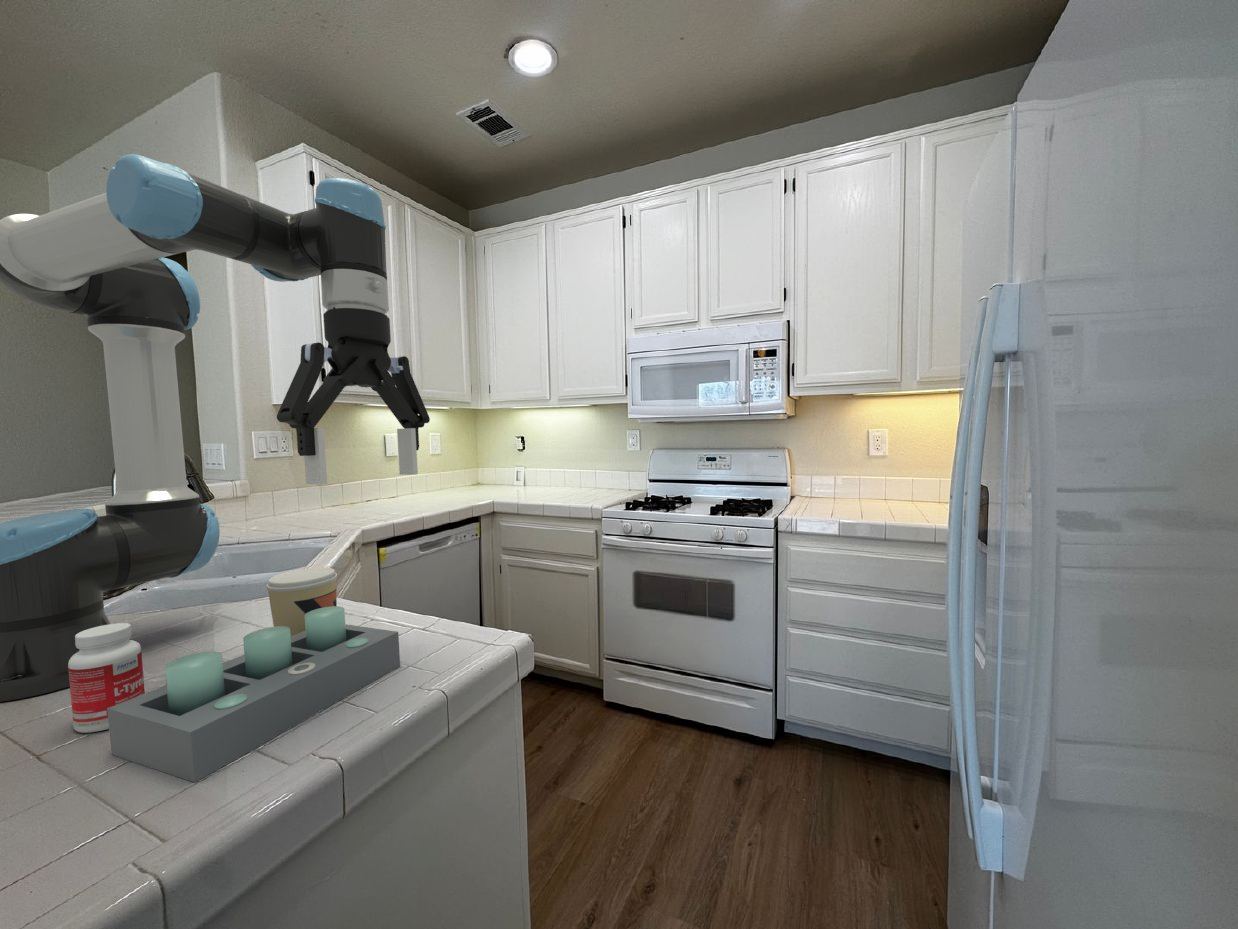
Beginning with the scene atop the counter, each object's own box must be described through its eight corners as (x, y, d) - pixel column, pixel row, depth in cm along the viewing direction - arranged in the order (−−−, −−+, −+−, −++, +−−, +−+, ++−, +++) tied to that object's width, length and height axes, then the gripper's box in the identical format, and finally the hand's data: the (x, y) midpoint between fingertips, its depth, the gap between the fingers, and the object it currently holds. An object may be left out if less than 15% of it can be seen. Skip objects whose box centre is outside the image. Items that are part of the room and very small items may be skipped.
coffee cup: (309, 665, 74) (303, 584, 74) (256, 661, 76) (250, 582, 76) (355, 639, 83) (350, 567, 83) (307, 636, 85) (301, 566, 85)
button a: (158, 712, 55) (154, 667, 55) (207, 691, 59) (204, 649, 59) (186, 720, 53) (182, 673, 53) (235, 697, 58) (231, 654, 57)
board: (111, 754, 54) (107, 706, 54) (329, 653, 78) (327, 620, 78) (194, 782, 49) (190, 730, 49) (400, 665, 73) (398, 630, 73)
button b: (236, 678, 62) (233, 638, 62) (275, 662, 67) (273, 624, 66) (263, 684, 61) (260, 643, 60) (301, 666, 65) (298, 628, 65)
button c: (298, 652, 70) (296, 616, 69) (329, 638, 74) (327, 605, 74) (324, 656, 68) (321, 619, 68) (354, 642, 72) (352, 608, 72)
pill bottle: (123, 730, 59) (114, 636, 58) (58, 739, 57) (49, 642, 57) (158, 703, 65) (151, 617, 64) (100, 710, 63) (92, 623, 63)
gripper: (273, 282, 52) (287, 489, 53) (450, 326, 74) (457, 471, 76) (230, 293, 55) (245, 488, 56) (412, 332, 78) (420, 471, 79)
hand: (366, 479), depth 66 cm, fingers open, 13 cm apart
